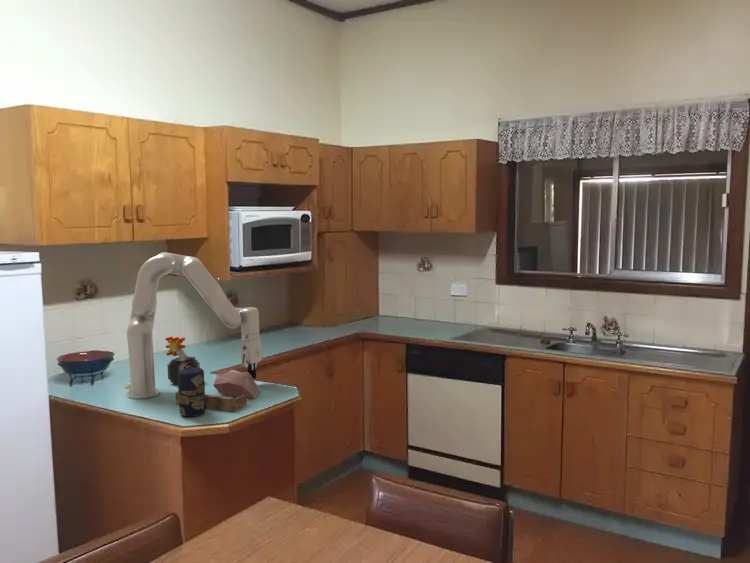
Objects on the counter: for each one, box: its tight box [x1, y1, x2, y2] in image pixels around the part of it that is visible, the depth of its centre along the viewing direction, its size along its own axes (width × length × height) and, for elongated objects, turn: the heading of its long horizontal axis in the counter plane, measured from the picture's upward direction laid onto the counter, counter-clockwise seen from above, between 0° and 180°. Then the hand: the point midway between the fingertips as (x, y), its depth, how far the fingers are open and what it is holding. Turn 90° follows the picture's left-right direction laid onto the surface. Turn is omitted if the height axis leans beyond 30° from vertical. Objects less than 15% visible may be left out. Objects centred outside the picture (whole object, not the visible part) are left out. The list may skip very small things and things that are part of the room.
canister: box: [177, 367, 207, 417], centre depth 245 cm, size 10×10×18 cm
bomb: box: [165, 336, 201, 386], centre depth 287 cm, size 8×13×20 cm, turn 67°
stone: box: [212, 369, 260, 399], centre depth 271 cm, size 8×20×13 cm
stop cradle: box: [175, 391, 248, 413], centre depth 257 cm, size 26×10×5 cm, turn 68°
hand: (252, 378), depth 284 cm, fingers closed
